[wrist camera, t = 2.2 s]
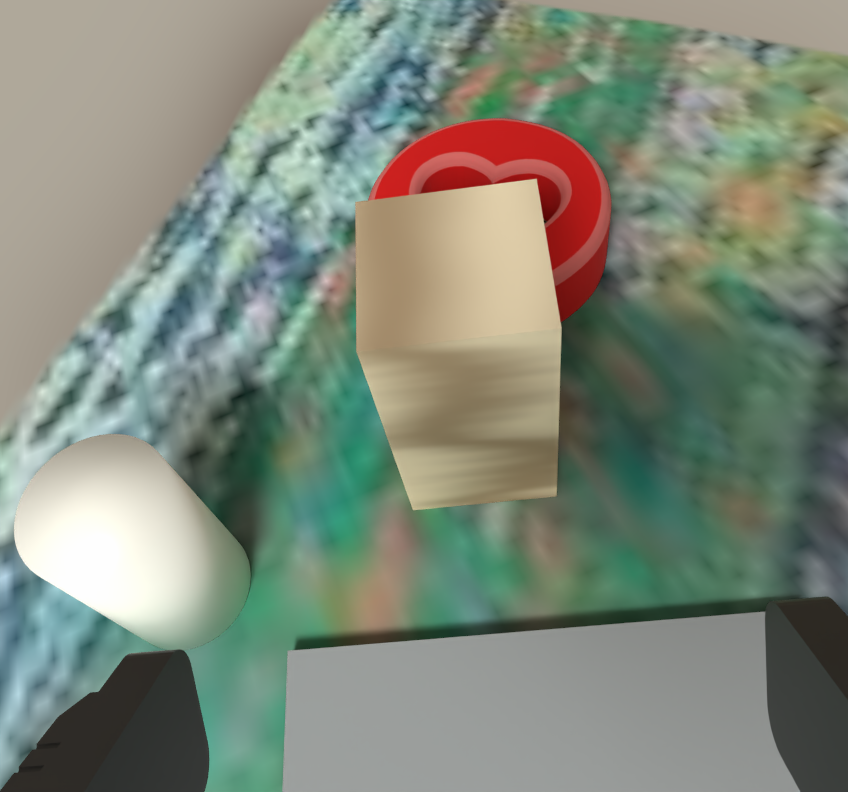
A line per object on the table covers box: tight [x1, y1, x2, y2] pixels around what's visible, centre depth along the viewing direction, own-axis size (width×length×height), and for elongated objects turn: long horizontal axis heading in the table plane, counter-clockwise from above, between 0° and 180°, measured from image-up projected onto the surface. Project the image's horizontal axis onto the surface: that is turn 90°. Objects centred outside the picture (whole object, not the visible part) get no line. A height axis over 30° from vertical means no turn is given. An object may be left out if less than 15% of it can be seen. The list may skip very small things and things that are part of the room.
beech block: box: [356, 179, 562, 510], centre depth 25 cm, size 5×5×10 cm
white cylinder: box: [14, 434, 251, 650], centre depth 25 cm, size 4×4×7 cm
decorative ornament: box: [368, 118, 611, 322], centre depth 33 cm, size 10×10×3 cm
